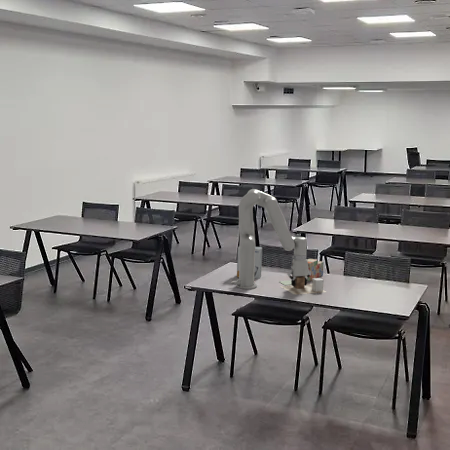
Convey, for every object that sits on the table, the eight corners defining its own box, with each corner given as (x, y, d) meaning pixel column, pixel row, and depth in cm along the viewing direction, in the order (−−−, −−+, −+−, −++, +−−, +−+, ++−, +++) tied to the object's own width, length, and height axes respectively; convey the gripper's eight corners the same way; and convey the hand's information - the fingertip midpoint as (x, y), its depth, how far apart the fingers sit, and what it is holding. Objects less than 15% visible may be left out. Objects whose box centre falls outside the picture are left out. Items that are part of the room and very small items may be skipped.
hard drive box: (236, 277, 404) (236, 247, 401) (238, 274, 411) (239, 245, 408) (259, 279, 401) (260, 249, 397) (261, 276, 408) (262, 246, 405)
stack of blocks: (314, 273, 418) (315, 256, 416) (323, 275, 414) (324, 257, 412) (300, 280, 400) (301, 261, 398) (309, 281, 397) (310, 262, 395)
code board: (294, 295, 363) (294, 294, 363) (280, 286, 382) (280, 286, 382) (327, 292, 371) (327, 292, 371) (311, 284, 389) (311, 283, 389)
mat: (284, 285, 385) (284, 284, 385) (278, 282, 393) (278, 281, 393) (302, 284, 389) (302, 283, 389) (295, 280, 397) (295, 280, 397)
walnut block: (297, 288, 377) (297, 277, 376) (293, 286, 381) (293, 275, 380) (304, 288, 378) (304, 277, 377) (300, 286, 383) (301, 275, 382)
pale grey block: (315, 291, 371) (316, 280, 370) (311, 289, 376) (312, 278, 374) (323, 291, 373) (323, 279, 372) (319, 289, 377) (319, 277, 376)
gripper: (289, 259, 370) (288, 288, 373) (315, 257, 376) (314, 286, 379) (284, 256, 377) (283, 285, 380) (309, 255, 383) (308, 283, 386)
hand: (299, 285), depth 380 cm, fingers open, 7 cm apart
